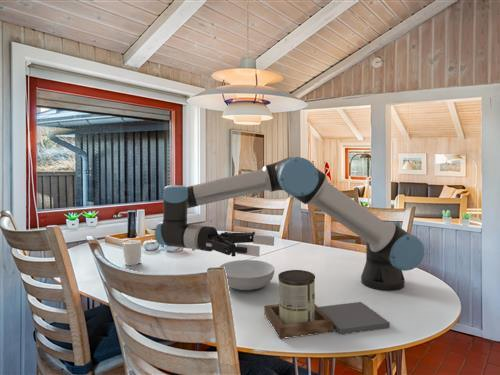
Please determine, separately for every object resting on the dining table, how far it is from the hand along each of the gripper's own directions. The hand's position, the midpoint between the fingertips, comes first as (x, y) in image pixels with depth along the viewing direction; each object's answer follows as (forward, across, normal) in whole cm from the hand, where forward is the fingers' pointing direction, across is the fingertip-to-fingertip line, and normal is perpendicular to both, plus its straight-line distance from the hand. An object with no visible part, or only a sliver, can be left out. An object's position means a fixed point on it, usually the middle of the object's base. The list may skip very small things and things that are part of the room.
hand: (266, 246), depth 107 cm
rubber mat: (+24, -7, -20) cm, 33 cm away
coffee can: (+10, 0, -22) cm, 24 cm away
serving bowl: (-15, -24, -22) cm, 36 cm away
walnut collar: (+10, 0, -21) cm, 23 cm away
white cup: (-74, -34, -25) cm, 86 cm away
